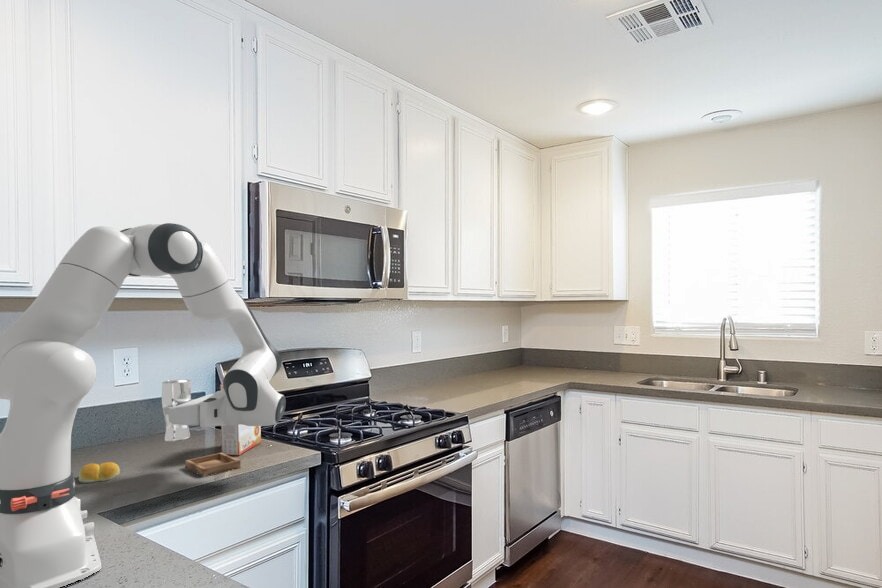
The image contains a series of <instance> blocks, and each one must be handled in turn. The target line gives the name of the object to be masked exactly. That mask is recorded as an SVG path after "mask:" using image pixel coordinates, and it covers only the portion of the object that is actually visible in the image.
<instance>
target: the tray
mask: <svg viewBox="0 0 882 588" xmlns="http://www.w3.org/2000/svg"><path fill="white" fill-rule="evenodd" d="M184 461H185V462H184V466H185V469H187V470H188V471H191V472H193V473H195V474H197V473H198V474H197V475H199V474H200V475H199V476H201V475H202V476H201V477H203V476H206V477H208V476H207V475H210V476H212V475H211V474H214V475H216V474H215V473H218V474H220V473H219V472H222V473H225V472H224V471H226V472H229V471H228V470H230V471H233V470H232V469H234V470H238V469H241V467H242V466H241V465H242V463H241V460H240V459H238V458H236V457H233V456H232V455H226V454H224V453H222V452H217V453H213V454H208V455H205V456H204V455H203V456H199V457H195V458H190V459H186V460H184ZM237 468H238V469H237Z"/></svg>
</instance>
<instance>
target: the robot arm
mask: <svg viewBox="0 0 882 588" xmlns="http://www.w3.org/2000/svg"><path fill="white" fill-rule="evenodd" d="M168 275H169V276H170V277H172V279H173V280H174V281H175V283H176V285H177V288H178V291H179V293H180V295H181V298H182V301H183V302H184V304H185V307H186V308H187V310H188V311H189V312H190V314H191V315H192V317H194V318H195V319H198V320H199V321H203V322H209V323H214V322H221V321H225V322H226V323H228V324H229V325H230V327H231V328H232V330H233V332H234V333H235V336H236V337H237V339H238V340H239V342H240V344H241V347H242V353H241V356H240V357H239V358H238V360H237V361H236V362H235V363H234V364H233V365H232V366H231V367H230V368H229V370H228V371H227V372H226V373H225V375H224V376H223V380H222V384H223V387H224V390H225V391H220V390H217V391H215V392H214V393H210V394H207V395H203V396H200V397H198V398H195V399H194V398H193V399H191V401H189V402H186V403H184V404H181V405H178V406H175V407H173V406H167V407H164V408H163V407H162V414H163V415H164V414H169V422H171V423H173V424H180V425H188V426H193V427H194V426H200V428H201V429H209V428H214V427H221V426H235V425H239V424H242V425H246V426H261V427H269V426H274V425H277V424H278V423H279V422H280V420H281V419H282V418H283V415H284V413H285V410H286V403H287V400H286V397H285V395H284V394H282V393H279V392H278V391H277V390H276V389H275V388H274V387H273V386H272V385H271V384H270V381H271V380H272V379H273V378H274V377H275V376H276V374H277V373H278V372H279V371H280V369H281V367H282V357H281V354H280V353H279V351H278V350H277V349H276V347H275V346H274V344H272V343H271V342H270V341H269V339H268V338H267V337H266V335H265V334H264V332H263V330H262V328H261V326H260V324H259V322H258V321H257V319H256V317H255V315H254V313H253V311H252V309H251V308H250V307H249V304H248V303H247V302H246V300H245V299H244V297H243V296H241V295H240V294H239V293H237V292H236V290H235V288H234V286H233V284H232V283H231V280H230V278H229V275H228V273H227V271H226V269H225V268H224V266H223V263H222V262H221V260H220V258H219V257H218V255H217V253H216V252H215V250H214V249H213V247H212V246H211V245H210V244H209V243H208V242H206V241H203V240H199V238H198V237H197V235H196V234H195V233H194V232H193V231H192V230H191V229H190V228H188V227H187V226H185V225H182V224H179V223H174V222H173V223H172V222H171V223H170V222H166V223H162V224H159V223H158V224H152V223H151V224H149V223H148V224H144V225H143V224H142V225H137V226H135V227H129V228H124V229H122V230H118V229H115V228H113V227H109V226H95V227H94V226H93V227H90V228H89V229H88V230H86V231H85V232H84V233H83V234H82V235H81V236H80V237H79V238H78V239H77V241H76V242H75V243H73V244H72V246H71V247H70V249H68V251H67V252H66V254H65V255H63V257H62V259H61V260H60V262H59V264H58V265H57V267H56V268H55V269H54V271H53V273H52V274H51V276H50V277H49V278H48V281H47V282H46V283H45V285H44V287H43V288H42V289H41V291H40V292H39V294H38V295H37V296H36V298H35V300H34V301H33V302H32V304H29V307H28V308H26V310H24V312H23V313H22V314H21V315H20V316H19V317H18V318H17V319H16V320H15V321H14V322H12V324H11V325H9V326H8V328H7V329H6V330H5V331H4V332H3V333H2V334H1V335H0V399H1V400H8V401H9V410H8V415H7V418H6V421H5V423H4V424H5V425H4V427H3V429H2V430H1V432H0V588H58V587H61V586H64V585H67V584H69V583H72V582H74V581H77V580H80V579H83V578H85V577H88V576H89V575H91V574H93V573H95V572H97V571H99V570H100V569H101V568H103V567H102V562H101V557H100V553H99V551H98V546H97V543H96V538H95V536H94V535H95V531H96V530H95V522H93V521H90V522H87V523H84V521H83V520H84V519H87V518H88V510H87V509H86V510H82V509H81V499H79V498H78V497H76V496H75V495H76V490H75V487H76V482H75V478H74V473H73V472H72V471H71V470H72V469H71V468H72V467H71V466H72V465H71V461H72V456H71V455H72V431H73V426H74V422H75V418H76V415H77V411H78V409H79V406H80V404H81V401H82V400H83V398H84V397H85V396H86V395H87V394H88V393H89V392H90V391H91V390H92V388H93V387H94V384H95V382H96V378H97V365H96V363H95V361H94V359H93V357H92V356H91V355H90V354H89V353H88V352H86V351H84V350H83V349H80V348H78V347H77V346H75V345H77V343H78V342H79V341H80V340H81V339H83V338H84V337H85V336H86V335H87V334H89V333H91V332H93V331H94V330H96V329H97V328H98V327H99V325H100V324H101V323H102V321H103V319H104V317H105V315H106V314H107V312H108V310H109V309H110V307H111V305H112V303H113V301H114V300H115V298H116V297H117V294H118V293H119V291H120V290H121V287H122V286H123V283H124V282H125V279H126V278H127V277H128V276H131V277H140V276H142V277H144V276H145V277H162V276H163V277H164V276H168ZM101 570H102V569H101ZM101 570H100V571H101ZM100 571H99V572H100ZM97 573H98V572H97ZM95 574H96V573H95ZM88 578H89V577H88ZM83 580H84V579H83Z"/></svg>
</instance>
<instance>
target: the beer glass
mask: <svg viewBox="0 0 882 588" xmlns="http://www.w3.org/2000/svg"><path fill="white" fill-rule="evenodd" d="M190 381H191V380H190V379H187V378H186V379H170V380H165V381H162V382H161V385H162V386H161V406H162V409H163V408H164V407H167V406H173V407H175V406H178V405H181V404H184V403H186V402H189V401H191V400H192V391H191V390H192V389H191V382H190ZM163 416H164V421H165V433H164V434H165V435H164V441H165V442H181V441H185V440H187V439H190V437H191V434H190V430H189V425H180V424H173V423H171V422H169V414H163Z"/></svg>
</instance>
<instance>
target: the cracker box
mask: <svg viewBox="0 0 882 588" xmlns="http://www.w3.org/2000/svg"><path fill="white" fill-rule="evenodd" d="M219 387H220V388H219V389H220V390H219V391H225V390H224V387H223V383H221V384H220V386H219ZM261 427H262V426H246V425H242V424H239V425H235V426H220V433H221V434H220V435H221V437H220V438H221V440H220V441H221V443H220V444H221V453H224V454H226V455H229V456H241V455H243V454H245V453H246V452H247V451H249V450H251V449H252V448H254V447H256V446H257V445H259V444H261V442H262V434H261V431H262V430H261V429H262V428H261Z"/></svg>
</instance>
